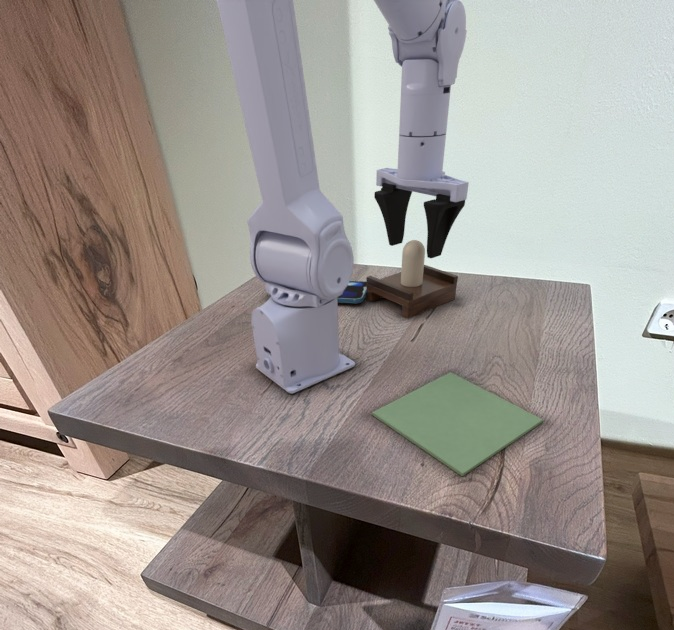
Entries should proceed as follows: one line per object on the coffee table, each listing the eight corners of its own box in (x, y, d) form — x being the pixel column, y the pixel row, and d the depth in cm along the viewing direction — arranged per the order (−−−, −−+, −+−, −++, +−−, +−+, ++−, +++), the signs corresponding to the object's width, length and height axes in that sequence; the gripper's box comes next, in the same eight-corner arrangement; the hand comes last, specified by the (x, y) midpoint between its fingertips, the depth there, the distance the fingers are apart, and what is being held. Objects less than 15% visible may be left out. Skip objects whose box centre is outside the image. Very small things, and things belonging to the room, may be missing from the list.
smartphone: (283, 278, 75) (371, 281, 72) (284, 283, 76) (371, 287, 73) (267, 295, 70) (361, 299, 67) (268, 301, 71) (361, 305, 67)
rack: (407, 318, 64) (409, 294, 62) (366, 299, 70) (366, 276, 67) (455, 299, 69) (458, 275, 66) (412, 283, 74) (414, 260, 72)
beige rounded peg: (411, 288, 66) (414, 245, 62) (396, 283, 68) (398, 240, 64) (426, 283, 67) (430, 240, 63) (411, 277, 69) (414, 235, 65)
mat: (462, 476, 40) (462, 473, 39) (371, 415, 47) (372, 412, 47) (542, 422, 45) (543, 419, 45) (450, 374, 52) (450, 371, 52)
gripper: (491, 134, 53) (473, 255, 62) (404, 126, 62) (399, 233, 71) (451, 141, 50) (437, 267, 59) (365, 132, 59) (364, 243, 67)
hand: (414, 249), depth 64 cm, fingers open, 7 cm apart
